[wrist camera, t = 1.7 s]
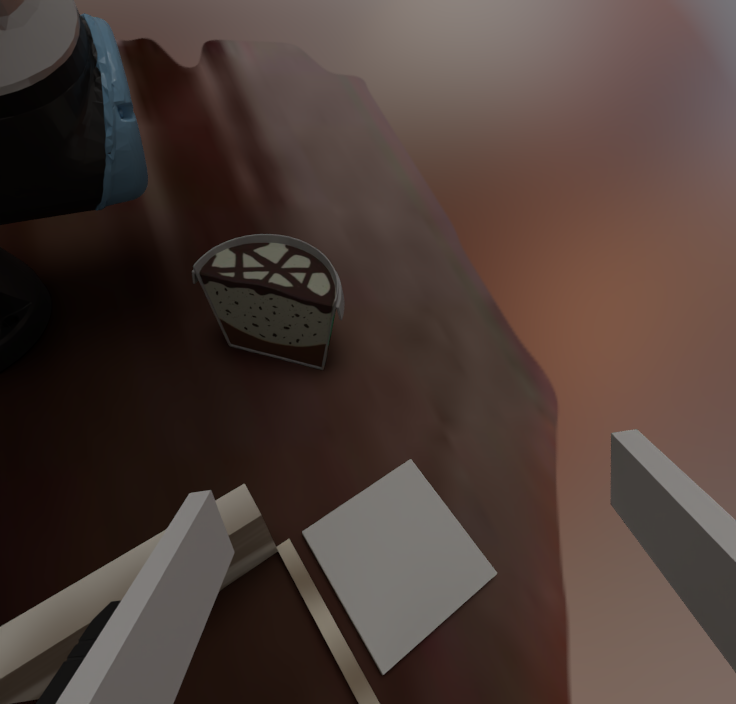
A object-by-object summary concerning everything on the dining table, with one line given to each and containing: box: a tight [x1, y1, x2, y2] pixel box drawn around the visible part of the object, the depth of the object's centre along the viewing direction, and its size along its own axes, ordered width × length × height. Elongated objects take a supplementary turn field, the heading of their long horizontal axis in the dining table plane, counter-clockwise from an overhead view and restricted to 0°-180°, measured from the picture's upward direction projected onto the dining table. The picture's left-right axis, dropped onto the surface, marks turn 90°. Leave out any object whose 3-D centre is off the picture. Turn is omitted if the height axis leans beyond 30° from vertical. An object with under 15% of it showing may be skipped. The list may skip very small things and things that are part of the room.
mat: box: [302, 459, 497, 675], centre depth 31 cm, size 10×10×1 cm
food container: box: [192, 234, 344, 370], centre depth 38 cm, size 12×6×10 cm, turn 76°
